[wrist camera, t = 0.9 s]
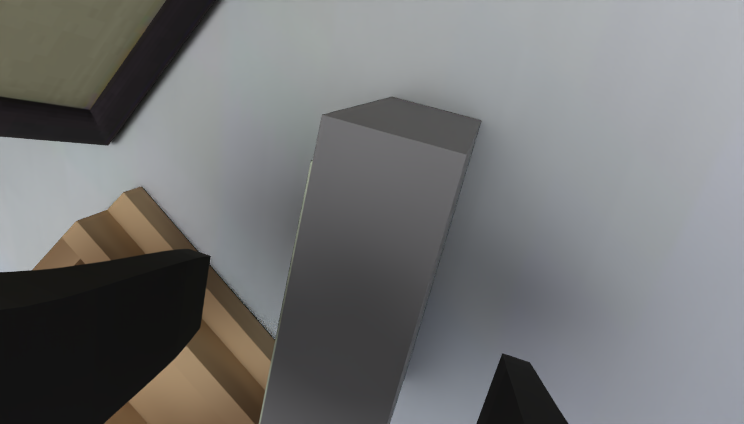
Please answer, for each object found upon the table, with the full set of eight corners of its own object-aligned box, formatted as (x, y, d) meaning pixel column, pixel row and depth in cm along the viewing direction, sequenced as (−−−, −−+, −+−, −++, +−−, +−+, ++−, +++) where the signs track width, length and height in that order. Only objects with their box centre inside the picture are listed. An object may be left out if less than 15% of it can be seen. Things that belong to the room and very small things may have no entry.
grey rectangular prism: (481, 120, 17) (466, 154, 10) (404, 377, 20) (354, 532, 13) (383, 94, 17) (308, 110, 11) (323, 349, 20) (237, 484, 14)
